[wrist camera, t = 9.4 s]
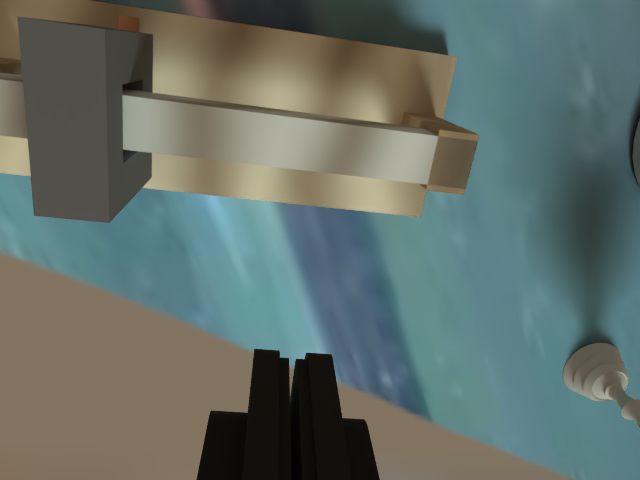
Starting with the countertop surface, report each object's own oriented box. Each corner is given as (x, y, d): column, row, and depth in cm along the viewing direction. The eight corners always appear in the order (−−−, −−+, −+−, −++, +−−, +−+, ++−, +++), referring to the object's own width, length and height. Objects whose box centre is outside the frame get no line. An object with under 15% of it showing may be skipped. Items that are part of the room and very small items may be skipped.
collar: (153, 34, 25) (104, 29, 18) (151, 177, 27) (109, 222, 20) (91, 25, 24) (17, 16, 17) (96, 171, 27) (34, 215, 20)
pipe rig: (448, 56, 29) (511, 59, 22) (414, 209, 33) (458, 260, 25) (-8, -14, 26) (-128, -40, 18) (10, 166, 29) (-84, 209, 22)
